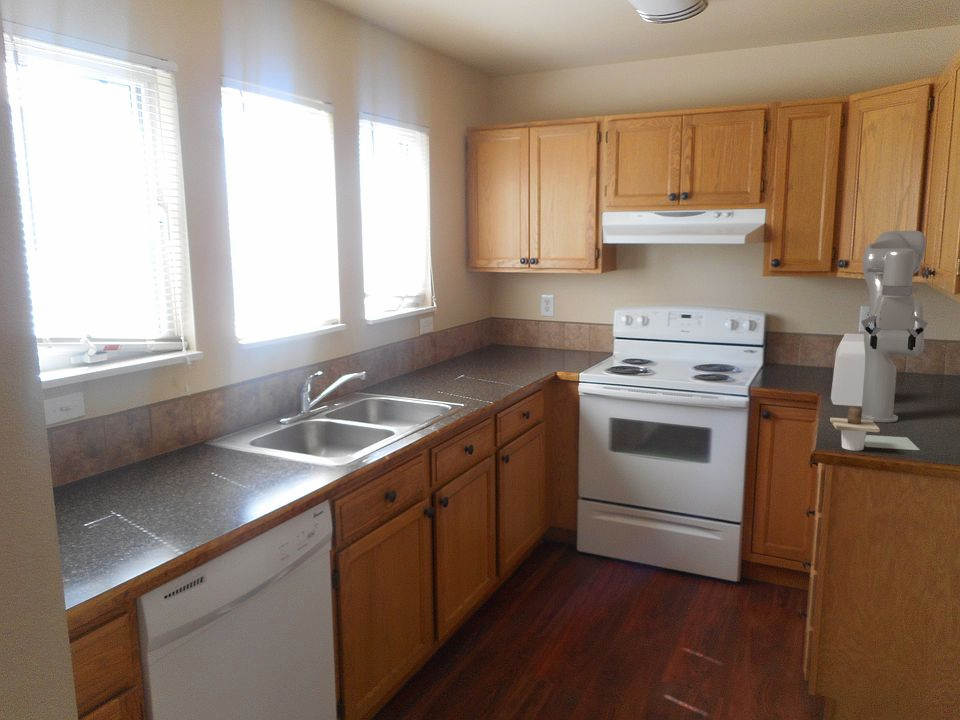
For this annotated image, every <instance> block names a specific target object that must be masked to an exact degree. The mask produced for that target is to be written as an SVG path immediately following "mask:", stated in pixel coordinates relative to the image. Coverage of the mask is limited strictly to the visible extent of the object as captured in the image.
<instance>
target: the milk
mask: <svg viewBox="0 0 960 720" xmlns="http://www.w3.org/2000/svg"><path fill="white" fill-rule="evenodd" d="M834 357H835V358H834V367H833V376H832V385H831V391H830V400H831V403H832V405H835V406H848V407H862V397H863V384H864V370H865V348H864V333H845V334H844V336H843V337H842V339H841V341H840V343H839V344H838V346H837V349H836V351H835V356H834Z"/></svg>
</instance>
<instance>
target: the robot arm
mask: <svg viewBox="0 0 960 720" xmlns="http://www.w3.org/2000/svg"><path fill="white" fill-rule="evenodd" d="M926 249H927V239H926V236H925V234H924V233H923V232H922V231H919V230H888V231H885V232H882V233H881V234H879V235H878V236H877V238H876V239H875V241H874V242H872V243H870V244H868V245H867V246H866V247H865V250H864V251H863V256H862V273H863V277H864V280H865V282H866V285H867V288H868V291H869V297H868V301H869V302H868V307H869V309H868V315H869V317H867V318H865V319H862V320H861V325H862V326H863V329H864V330H865V332H864V333H863V335H864V348H865V370H864V384H863V397H862V406H861V408H862V417H861V419H869V420H872V421H873V422H874V423H893V422H894V423H895V422H897V421H899V416H898V415H897V414H894V409H895V408H894V407H895V394H896V385H897V384H896V383H897V367H896V365H895V363H894V362H893V361H892V359H890V356H892V357H893V356H900V357H917V356H920V355H921V354H922V353H923V351H924V347H925V328H926V327H927V326H928V325H929V322H928V321H926V320H925V317H924V307H923V304H922V303H921V302H920V301H919V300H916V299H914V296H913V294H914V293H917V292H918V288H917V287H914V286H913V276H914V274H916V273H917V272H919V270H920V269H921V266H922V263H923V259H924V256H925V254H926ZM869 323H871V324H872V325H873V327H870V326H869Z"/></svg>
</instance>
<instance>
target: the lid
mask: <svg viewBox="0 0 960 720" xmlns="http://www.w3.org/2000/svg"><path fill="white" fill-rule="evenodd" d="M861 417H862V407H861V406H848V413H847V417H830V418H829V419H830V420H829V421H830V422H831V424H832V426H833V427H834V428H835V430H836V431H841V430H848V431H866V433H867V432H869V433H870V432H871V433H880V431H881V430H880V427H879V426H878V425H877V424H876V422H873V421H872V420H869V419H861Z"/></svg>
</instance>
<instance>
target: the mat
mask: <svg viewBox="0 0 960 720" xmlns="http://www.w3.org/2000/svg"><path fill="white" fill-rule="evenodd" d="M864 447H865V448H877V449H880V448H881V449H893V450H894V449H895V450H908V451H909V450H910V451H911V450H912V451H921V449H920V448H919V447H917V445H915V444H914V442H912V441H911V439H909V438H908V437H907V436H887V435H875V434H873V435H871V434H870V435H869V434H866V438H865V443H864Z"/></svg>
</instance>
